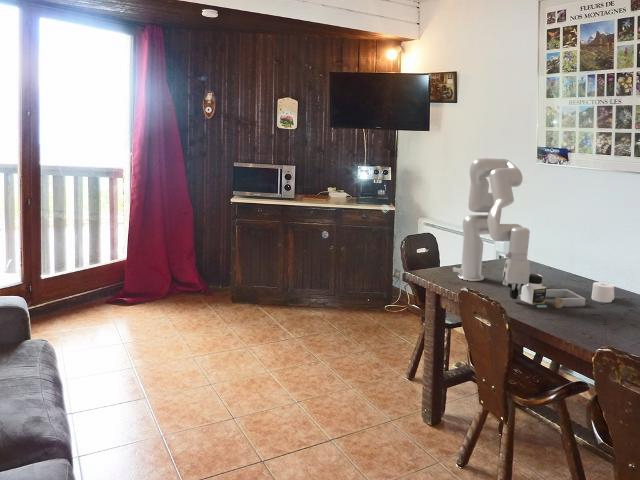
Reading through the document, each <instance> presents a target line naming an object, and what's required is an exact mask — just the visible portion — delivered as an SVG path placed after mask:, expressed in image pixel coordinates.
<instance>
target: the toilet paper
mask: <svg viewBox="0 0 640 480" xmlns="http://www.w3.org/2000/svg"><path fill="white" fill-rule="evenodd" d="M591 291H592V292H591V300H592V301H595V302H599V303H605V304H606V303H612V302H613V301H614V299H615V284H614V283H608V282H601V281H600V282H599V281H595V282H593V283H592V290H591ZM612 300H613V301H612Z"/></svg>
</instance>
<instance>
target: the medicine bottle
mask: <svg viewBox="0 0 640 480" xmlns="http://www.w3.org/2000/svg"><path fill="white" fill-rule="evenodd" d="M543 278H544V277H543V275H541V274H537V273H530V277H529V282H528V284H527V285H524V286H522V287H521V292H520V293H521V294H520V295H521V297H520V301H522V302H525V303H526V304H529V305H532V306H535V305H543V304H545V303H546V298H547V297H546V289H547V286H543Z"/></svg>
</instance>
